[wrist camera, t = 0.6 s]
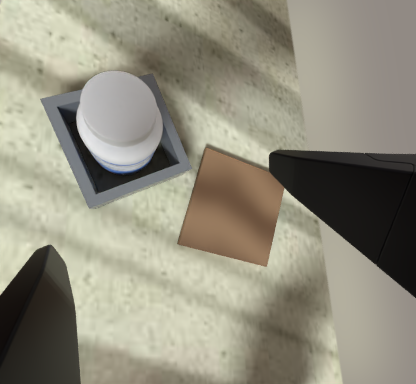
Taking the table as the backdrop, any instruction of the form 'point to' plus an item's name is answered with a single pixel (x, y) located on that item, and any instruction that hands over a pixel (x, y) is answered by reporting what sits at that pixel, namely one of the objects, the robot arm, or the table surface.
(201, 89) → the table surface
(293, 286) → the table surface
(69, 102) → the holder box
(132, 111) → the pill bottle
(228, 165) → the walnut coaster
